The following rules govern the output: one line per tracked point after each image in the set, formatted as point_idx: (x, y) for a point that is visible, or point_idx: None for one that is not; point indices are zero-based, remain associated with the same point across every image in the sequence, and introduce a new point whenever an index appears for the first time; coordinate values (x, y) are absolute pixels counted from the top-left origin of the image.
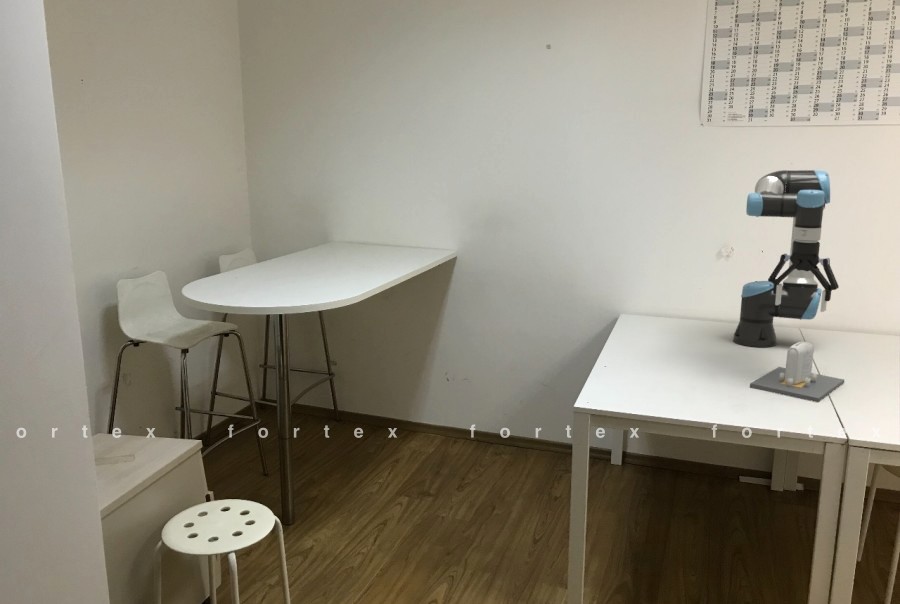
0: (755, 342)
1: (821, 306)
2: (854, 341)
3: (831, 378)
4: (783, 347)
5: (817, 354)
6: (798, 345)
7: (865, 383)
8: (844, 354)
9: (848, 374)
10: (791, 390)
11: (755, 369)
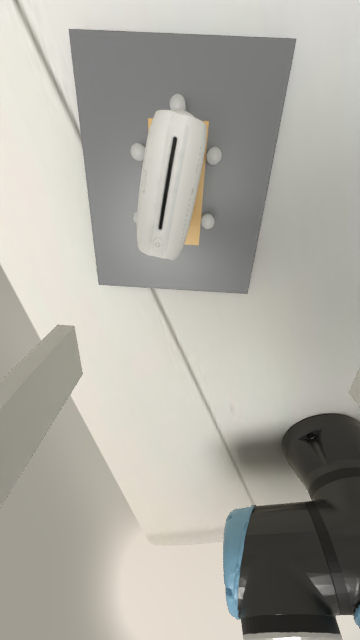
0: (322, 423)
1: (52, 346)
2: (176, 502)
3: (121, 273)
4: (266, 436)
5: (204, 427)
6: (164, 141)
7: (71, 307)
8: (167, 446)
9: (119, 346)
10: (161, 60)
11: (298, 262)
